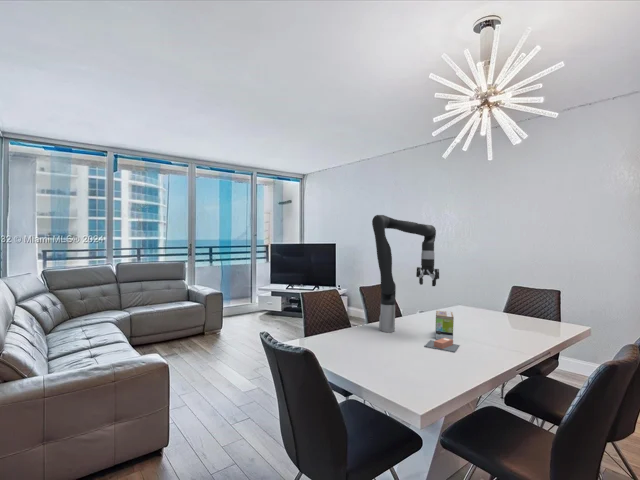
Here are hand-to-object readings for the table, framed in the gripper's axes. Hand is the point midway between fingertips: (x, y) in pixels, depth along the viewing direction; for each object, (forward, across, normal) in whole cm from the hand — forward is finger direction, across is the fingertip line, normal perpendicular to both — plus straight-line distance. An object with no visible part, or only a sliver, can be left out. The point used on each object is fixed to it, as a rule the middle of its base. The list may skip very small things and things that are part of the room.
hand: (427, 285), depth 202 cm
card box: (+30, -14, +11) cm, 35 cm away
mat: (+32, -14, +5) cm, 35 cm away
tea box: (+32, -4, -12) cm, 35 cm away
